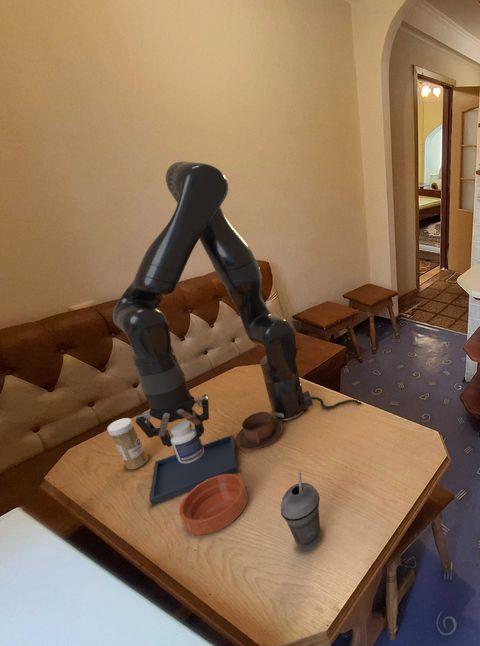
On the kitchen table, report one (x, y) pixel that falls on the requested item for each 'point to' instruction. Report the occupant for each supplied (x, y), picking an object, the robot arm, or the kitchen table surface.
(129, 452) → the sprinkles bottle
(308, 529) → the beverage cup
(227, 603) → the kitchen table surface
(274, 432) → the cup and saucer
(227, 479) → the bowl
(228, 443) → the tray
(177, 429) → the pill bottle
